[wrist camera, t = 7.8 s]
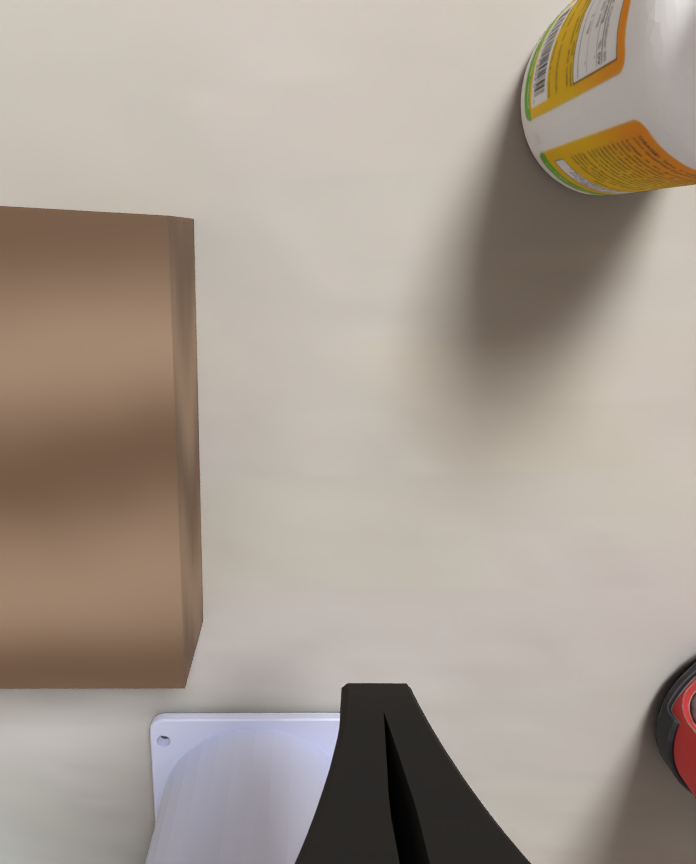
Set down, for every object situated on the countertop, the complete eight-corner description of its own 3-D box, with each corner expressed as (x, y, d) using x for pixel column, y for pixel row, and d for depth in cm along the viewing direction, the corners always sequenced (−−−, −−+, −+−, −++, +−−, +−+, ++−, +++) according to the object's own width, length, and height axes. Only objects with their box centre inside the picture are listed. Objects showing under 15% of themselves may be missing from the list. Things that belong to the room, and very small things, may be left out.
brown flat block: (202, 620, 22) (184, 688, 19) (-82, 618, 22) (-153, 688, 18) (193, 218, 18) (167, 215, 15) (-163, 198, 17) (-275, 190, 14)
